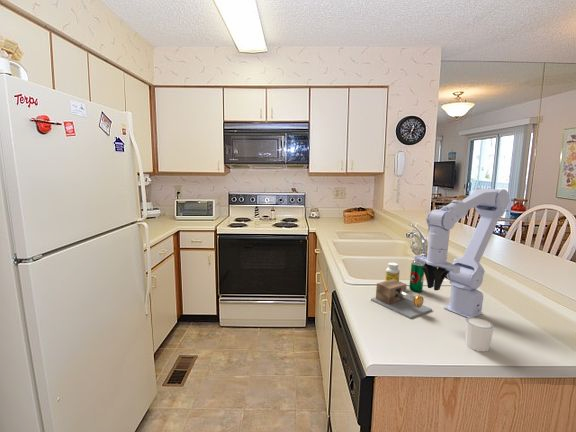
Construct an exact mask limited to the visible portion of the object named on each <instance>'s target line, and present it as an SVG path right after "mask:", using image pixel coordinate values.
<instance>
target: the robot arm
mask: <svg viewBox="0 0 576 432" xmlns="http://www.w3.org/2000/svg"><path fill="white" fill-rule="evenodd" d="M509 203H510V194H509V192H508V190H507V189H503V188H501V189H500V188H498V189H497V188H485V187H484V188H482V187H476V188H475V189H472V191H471V193H470V195H468V196H467V197H465V198H464V199H462V200H458V199H453V200H451V202H450V203H448V204H447V205H443V206H442V208H439V209H436V208H435V209H432V210H431V211H429V212H428V214H427V217H426V218H425V219H426V220H425V221H426V224H427V231H428V232H429V235H428V242H427V243H428V244H427V255H426V256H423V255H419V254H418V255H414V259H413V260H414V261H415V262H420V263H424V264H425V265H424V266H422V269H423V271H424V277H425V279H426V285H427V289H432V288H433V290H434V291H435V292H436V291H439V290H441V287H442V285H443V282H444V280H445V279H446V278H447V280H448V281H449V284H450V294H449V297H450V298H449V304H448V305H444V306H443V309H444V310H447V311H450V312H452V313H454V314H457V315H459V316H462V317H464V318H470V317H475V318H477V317H478V316H480V315H482V314H483V310H482V309H483V301H484V294H483V292H482V291H480V290H478V289H479V288H480V287H481V285H482V284H483V281H484V280H483V279H484V274H485V272H486V271H485V269H484V267H483V266H482V264H481V259H482V258H483V256H484V253H485V251H486V249H487V247H488V244H489V242H490V239H491V237H492V235H493V233H494V231H495V229H496V226H497V225H498V222H499V220H500V218H502V217H503V216H504V214H505V212H506V210H507V208H508V206H509ZM474 208H475V212H476V213H477V214H478V215H480V218H479V220H478V223H477V225H476V227H475V230H474V232H473V233H472V236H471V239H470V240H469V242H468V245H467V246H466V249H465V251H464V253H463V255H462V256H460V257H458V258H455V259H453V262H452V263H451V262H449V261H447V260H448V259H447V258H448V250H449V240H450V232H451V230H452V229H454V227H455V225H456V223H457V222H458V221H459V220H461V219H463V218H464V217H466V216H467V215H468V212H469V210H471V209H474Z"/></svg>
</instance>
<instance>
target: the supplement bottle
mask: <svg viewBox="0 0 576 432" xmlns="http://www.w3.org/2000/svg"><path fill="white" fill-rule="evenodd" d="M392 279H394V280H397V281H399V282H400V269H399V264H398V263H396V262H388V263H387V267H386V269H385V281H388V280H392Z"/></svg>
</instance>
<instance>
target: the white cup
mask: <svg viewBox="0 0 576 432" xmlns="http://www.w3.org/2000/svg"><path fill="white" fill-rule="evenodd" d="M494 329H495V326H494V324H493V323H492V322H490V321H489V320H487V319H484V318H482V317H481V318H480V317H470V318H467V317H465V336H464V337H465V340H464V341H465V346H466V345H467V346H468V348H469V349H470V348H471V350H473V351H475V350H477V351H476V352H479V351H483V353H484V351H486V352H488V351H489V350H490V349H489V348H490V345H491V341H492V338H493V334H494V333H493V332H494ZM467 346H466V347H467Z"/></svg>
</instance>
